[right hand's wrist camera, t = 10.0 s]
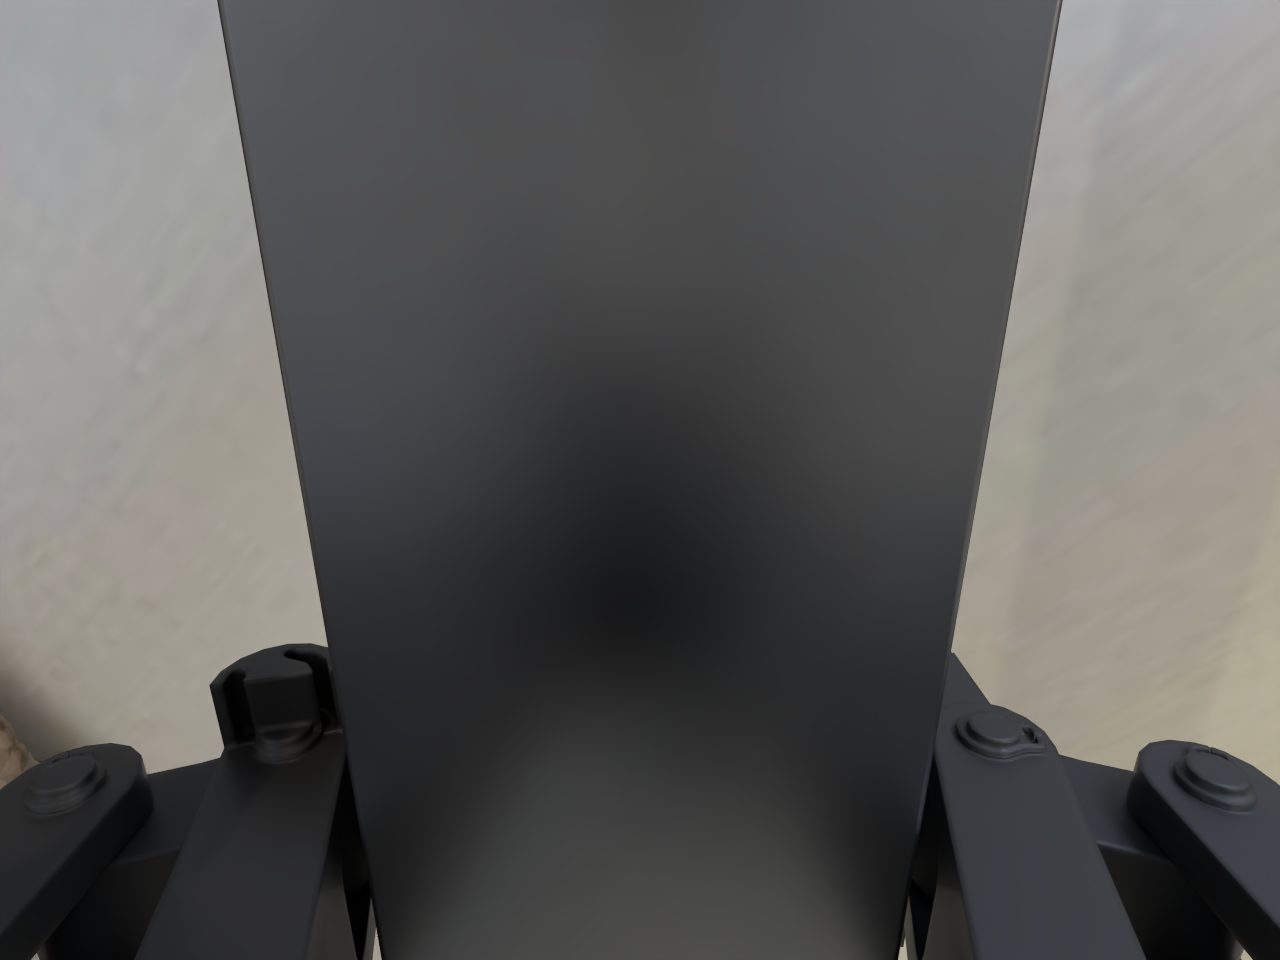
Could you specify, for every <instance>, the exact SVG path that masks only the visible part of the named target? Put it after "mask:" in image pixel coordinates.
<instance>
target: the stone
mask: <svg viewBox="0 0 1280 960" xmlns="http://www.w3.org/2000/svg"><path fill="white" fill-rule="evenodd" d="M39 763H40V762H38V761H36V760H35V759H34V758H33V757H32V755H31V754H30V753H29V751H28V749H27V747H26V746H25V745H24V744H23V743H22V742H20V741H19V740H18V737H17V734H16V732H15V730H14V727H13V725H12V723H11V721H9V720H8V719H7V718H6V717H5V716H3V715H2V714H1V713H0V790H1V789H2V788H3V787H4V786H5V785H7V784H8V783H9V782H11V781H12V780H14V779H15V778H16V777H18V776H19V775H20V774H22V773H23V772H25V771H26V770H27V769H29V768H31V767H33V766H35V765H37V764H39Z"/></svg>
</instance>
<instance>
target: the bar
mask: <svg viewBox="0 0 1280 960" xmlns="http://www.w3.org/2000/svg"><path fill="white" fill-rule="evenodd" d="M217 1H218V7H219V13H220V19H221V25H222V31H223V36H224V42H225V48H226V54H227V60H228V66H229V71H230V77H231V83H232V89H233V95H234V101H235V106H236V112H237V118H238V124H239V130H240V136H241V141H242V147H243V153H244V159H245V165H246V171H247V176H248V182H249V188H250V194H251V200H252V206H253V211H254V217H255V223H256V229H257V235H258V240H259V246H260V252H261V258H262V264H263V270H264V275H265V281H266V287H267V293H268V299H269V305H270V310H271V316H272V322H273V328H274V334H275V340H276V345H277V351H278V357H279V363H280V369H281V375H282V380H283V386H284V392H285V398H286V404H287V410H288V415H289V421H290V427H291V433H292V439H293V445H294V450H295V456H296V462H297V468H298V474H299V480H300V485H301V491H302V497H303V503H304V509H305V514H306V520H307V526H308V532H309V538H310V544H311V549H312V555H313V561H314V567H315V573H316V579H317V584H318V590H319V596H320V602H321V608H322V614H323V619H324V625H325V631H326V637H327V643H328V649H329V654H330V660H331V666H332V672H333V678H334V684H335V689H336V695H337V701H338V707H339V713H340V719H341V724H342V730H343V736H344V742H345V748H346V754H347V759H348V765H349V771H350V777H351V783H352V788H353V794H354V800H355V806H356V812H357V818H358V823H359V829H360V835H361V841H362V847H363V853H364V858H365V864H366V870H367V876H368V882H369V888H370V893H371V899H372V905H373V911H374V917H375V923H376V928H377V934H378V940H379V946H380V952H381V958H382V960H898V956H899V950H900V944H901V939H902V933H903V927H904V921H905V915H906V909H907V904H908V898H909V892H910V886H911V880H912V874H913V869H914V863H915V857H916V851H917V845H918V840H919V834H920V828H921V822H922V816H923V810H924V805H925V799H926V793H927V787H928V781H929V775H930V770H931V764H932V758H933V752H934V746H935V740H936V735H937V729H938V723H939V717H940V711H941V705H942V700H943V694H944V688H945V682H946V676H947V671H948V665H949V659H950V653H951V647H952V641H953V636H954V630H955V624H956V618H957V612H958V606H959V601H960V595H961V589H962V583H963V577H964V571H965V566H966V560H967V554H968V548H969V542H970V537H971V531H972V525H973V519H974V513H975V507H976V502H977V496H978V490H979V484H980V478H981V472H982V467H983V461H984V455H985V449H986V443H987V437H988V432H989V426H990V420H991V414H992V408H993V402H994V397H995V391H996V385H997V379H998V373H999V368H1000V362H1001V356H1002V350H1003V344H1004V338H1005V333H1006V327H1007V321H1008V315H1009V309H1010V303H1011V298H1012V292H1013V286H1014V280H1015V274H1016V268H1017V263H1018V257H1019V251H1020V245H1021V239H1022V233H1023V228H1024V222H1025V216H1026V210H1027V204H1028V199H1029V193H1030V187H1031V181H1032V175H1033V169H1034V164H1035V158H1036V152H1037V146H1038V140H1039V134H1040V129H1041V123H1042V117H1043V111H1044V105H1045V99H1046V94H1047V88H1048V82H1049V76H1050V70H1051V64H1052V59H1053V53H1054V47H1055V41H1056V35H1057V30H1058V24H1059V18H1060V12H1061V6H1062V0H217Z"/></svg>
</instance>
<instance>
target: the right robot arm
mask: <svg viewBox="0 0 1280 960" xmlns="http://www.w3.org/2000/svg"><path fill="white" fill-rule="evenodd" d="M209 686H210V690H211V694H212V698H213V702H214V706H215V710H216V715H217V719H218V723H219V727H220V731H221V735H222V739H223V743H224V750H223V753H222V755H221V757H220V758H217V759H214V760H210V761H207V762H203V763H199V764H194V765H190V766H185V767H180V768H176V769H171V770H166V771H162V772H157V773H152V774H148V775H147V773H146V770H145V766H144V763H143V759H142V756H141V755H140V754H139V753H138V752H137V751H136V750H134V749H133V748H132V747H131V746H126V745H120V744H114V743H107V744H99V745H90V746H84V747H81V748H76V749H72V750H71V751H66V752H63V753H60V754H57V755H55V756H53V757H51V758H49V759H47V760H45V761H43V762H41V763H39V764H37V765H35V766H33V767H31V768H29V769H27V770H26V771H25V772H23V773H22V774H20V775H19V776H18V777H16V778H15V779H14V780H12V781H11V782H9V783H8V784H7V785H5V786H4V787H3V788H2V789H1V790H0V960H31V959H32V958H33V956H34V955H35V954H36V953H37V954H38V957H39V959H40V960H372V959H373V949H374V940H375V931H376V923H375V917H374V911H373V905H372V899H371V893H370V888H369V882H368V876H367V870H366V864H365V858H364V853H363V847H362V841H361V835H360V829H359V823H358V818H357V812H356V806H355V800H354V794H353V788H352V783H351V777H350V771H349V765H348V759H347V754H346V748H345V742H344V736H343V730H342V724H341V719H340V713H339V707H338V701H337V695H336V689H335V684H334V678H333V672H332V666H331V660H330V654H329V649H328V647H323V646H319V645H315V644H311V643H309V644H286V645H281V646H276V647H272V648H267V649H263V650H261V651H258V652H256V653H253V654H251V655H248V656H246V657H243V658H241V659H239V660H238V661H236V662H235V663H233V664H231V665H230V666H228V667H227V668H225V669H224V670H222V671H221V672H220V673H219V675H218V676H217V677H216V678H215V679H214V680H213V682H212V683H211V684H210V685H209ZM905 938H906V948H907V957H908V960H1241V955H1242V953H1243V950H1244V949H1245V951H1246V952H1247V953H1248V954H1249V955H1250V957H1251V958H1252V959H1253V960H1280V786H1279V785H1278V784H1277V783H1276V782H1275V781H1273V780H1272V779H1270V778H1269V777H1268V776H1266V775H1265V774H1263V773H1262V772H1261V771H1259V770H1258V769H1257V768H1255V767H1254V766H1252V765H1250V764H1248V763H1246V762H1244V761H1242V760H1240V759H1238V758H1236V757H1234V756H1232V755H1230V754H1228V753H1226V752H1224V751H1221V750H1218V749H1216V748H1213V747H1212V748H1210V747H1208V746H1206V745H1201V744H1197V743H1192V742H1184V741H1175V740H1165V741H1159V742H1153V743H1149V744H1148V745H1147V746H1146V747H1144V748H1143V749H1142V750H1141V751H1140V752H1139V754H1138V757H1137V761H1136V764H1135V767H1134V771H1128V770H1124V769H1119V768H1114V767H1110V766H1105V765H1100V764H1095V763H1091V762H1086V761H1081V760H1077V759H1074V758H1070V757H1066V756H1063V755H1059V754H1058V751H1057V749H1056V747H1055V745H1054V744H1053V743H1052V741H1051V740H1050V738H1049V737H1048V736H1047V734H1046V733H1045V732H1044V731H1043V730H1042V729H1041V728H1039V727H1038V726H1037V725H1035V724H1034V723H1033V722H1031V721H1030V720H1029V719H1027V718H1026V717H1024V716H1021V715H1019V714H1017V713H1015V712H1013V711H1010V710H1008V709H1006V708H1004V707H1000V706H996V705H992V704H990V703H989V702H988V700H987V699H986V697H985V696H984V695H983V693H982V692H981V690H980V689H979V687H978V686H977V685H976V683H975V682H974V680H973V679H972V678H971V676H970V675H969V673H968V672H967V671H966V669H965V668H964V666H963V665H962V664H961V662H960V661H959V659H958V658H957V657H956V655H955V654H954V653H950V659H949V665H948V671H947V676H946V682H945V688H944V694H943V700H942V705H941V711H940V717H939V723H938V729H937V735H936V740H935V746H934V752H933V758H932V764H931V770H930V775H929V781H928V787H927V793H926V799H925V805H924V810H923V816H922V822H921V828H920V834H919V840H918V845H917V851H916V857H915V863H914V869H913V874H912V880H911V886H910V892H909V898H908V904H907V909H906V915H905V921H904V927H903V933H902V939H901V944H900V947H903V945H904V940H905Z"/></svg>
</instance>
